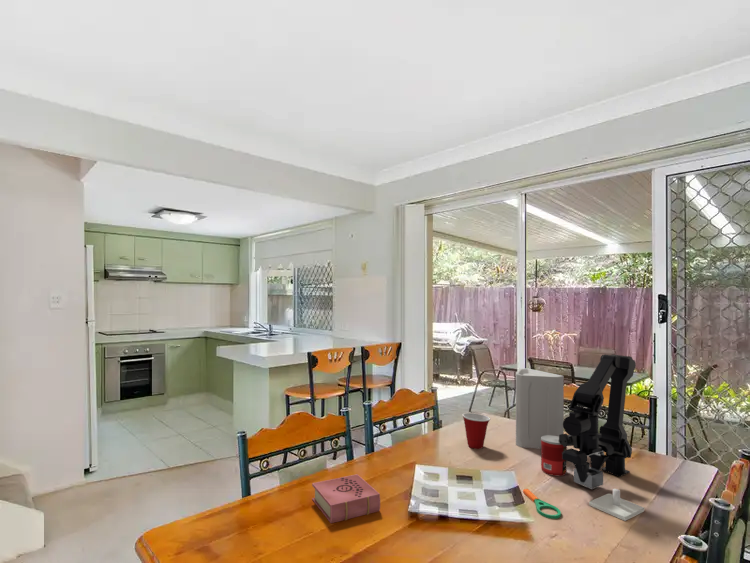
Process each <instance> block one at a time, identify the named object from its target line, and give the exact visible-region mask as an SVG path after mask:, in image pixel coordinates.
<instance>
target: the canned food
mask: <svg viewBox="0 0 750 563" xmlns="http://www.w3.org/2000/svg"><path fill="white" fill-rule="evenodd" d="M567 447H568V446H566V447H563V445H561V444H560V443H559V437H558V436H552V435H546V436H542V437H541V449H540V466H541V471H542V472H543V473H545V474H546V475H550V476H555V477H561V476H565V475H566V473H567V466H568V465H567V462H568V461H566V460H563V459H562V452H563V451H565V450H568V449H567Z"/></svg>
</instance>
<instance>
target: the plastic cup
mask: <svg viewBox="0 0 750 563" xmlns="http://www.w3.org/2000/svg"><path fill="white" fill-rule="evenodd" d="M461 415H462V418H463V422H464V429H465V436H466V441H467V442H466V443H467V445H468V447H469V448H471V449H476V450H480V449H483V447H484V445H485V440H486V435H487V429H488V424H489V423H490V420H491V418H490V417H489V416H487V415H485V414H480V413H475V412H465V413H462V414H461Z"/></svg>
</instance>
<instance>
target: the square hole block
mask: <svg viewBox="0 0 750 563" xmlns="http://www.w3.org/2000/svg"><path fill="white" fill-rule="evenodd" d="M573 482H574V483H576V484H578V485H581V486H584V487H586V488H588V489H591V490H593V489H596V488H598V487H601V486H603V485H604V471H603V470H597V469H595V468H592V467H591V466H590V467H589V470H588V473H587V476H586V479H585V482H584V483H583V482H581V481H580V479H579V476H578V473H577V470H576V468H573Z"/></svg>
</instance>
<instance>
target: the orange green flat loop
mask: <svg viewBox="0 0 750 563" xmlns="http://www.w3.org/2000/svg"><path fill="white" fill-rule="evenodd" d="M522 492H523V495H525V496H527V498H528V499H529V500H530V501H532V502H533V503H534V504H535V508H536V512H537V513H538V514H539V515H540V516H542V517H545V518H547V519H553V520H554V519H555V520H556V519H559V518H561V516H562V512H561V510H560V509H559V507H556V506H555V505H553V504H551V503H548V502H547V501H544V500H542V499H540V498H538V497H537V495H535V494H534V493H533V492H532V491H531V490H530V489H528V488H524V489H523V491H522ZM542 509H550V510H553V511H554V512H556V514H548V513H546V512H543V511H542Z"/></svg>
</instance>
